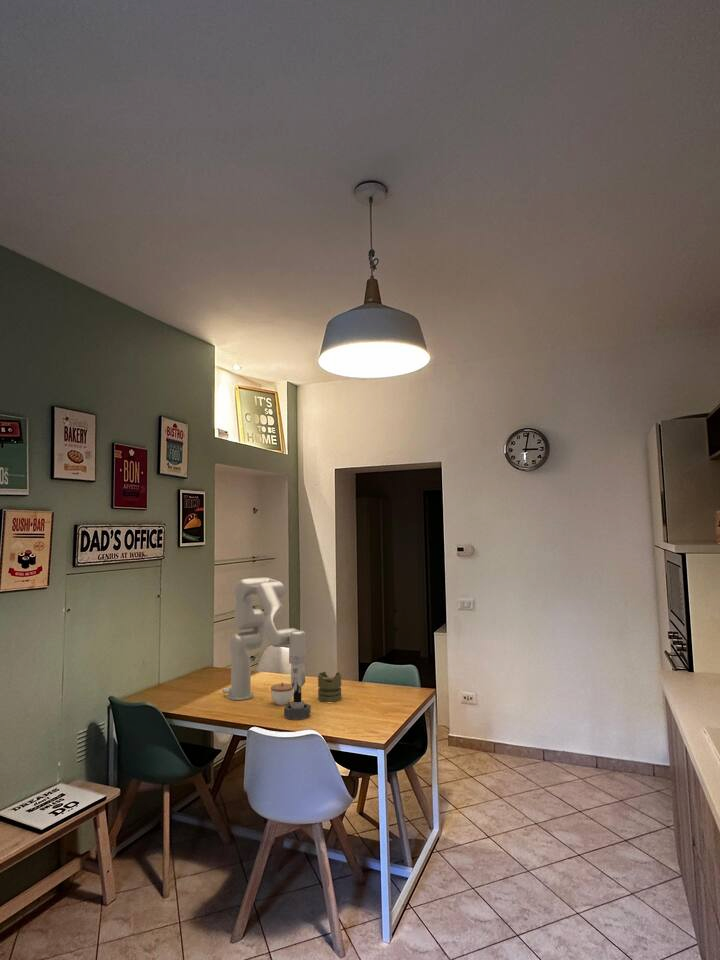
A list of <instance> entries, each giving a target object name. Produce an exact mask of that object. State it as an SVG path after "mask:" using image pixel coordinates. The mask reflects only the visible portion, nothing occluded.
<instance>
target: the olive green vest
mask: <svg viewBox="0 0 720 960" xmlns="http://www.w3.org/2000/svg"><path fill="white" fill-rule="evenodd" d="M317 687H318V689H317V692H318V695H317V698H318V699H317V701H318V700H319V701H318V702H321V703H324V702H334V703H338V702H341V701H340V700H342V688H341V687H342V672H339V671H336V673H335V675H334V676H328V675H327V673H326V671H323V672H319V673H318V674H317ZM337 701H338V702H337Z"/></svg>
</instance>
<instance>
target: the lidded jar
mask: <svg viewBox="0 0 720 960" xmlns="http://www.w3.org/2000/svg"><path fill="white" fill-rule="evenodd" d="M270 691H271V692H270V693H271V698H272V701H273V702H274V703H275V705H277V706H284V705H285V706H286V705H288V704H290V703H291V701H292V700H293V697H294V686H293V687H292V686H291V683H284V682H281V683H277V684H273V685H271V687H270Z"/></svg>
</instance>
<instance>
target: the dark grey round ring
mask: <svg viewBox="0 0 720 960" xmlns="http://www.w3.org/2000/svg"><path fill="white" fill-rule="evenodd" d="M311 710H312V709H311V704H309V703H305V702H304V708H303V709H291V703H288V704H286V705H285V706H284V707H283V715H284V718H285V719H287V720H290V721H300V720H301V721H302V720H307V719H308V718H310V717H309V716H311V713H312V711H311Z"/></svg>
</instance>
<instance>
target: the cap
mask: <svg viewBox="0 0 720 960" xmlns="http://www.w3.org/2000/svg"><path fill="white" fill-rule="evenodd" d="M304 703H305V701H304V700H301V702H294V700H293V701H292V700H291V701H290V704H291V709H303V708H304Z"/></svg>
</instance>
